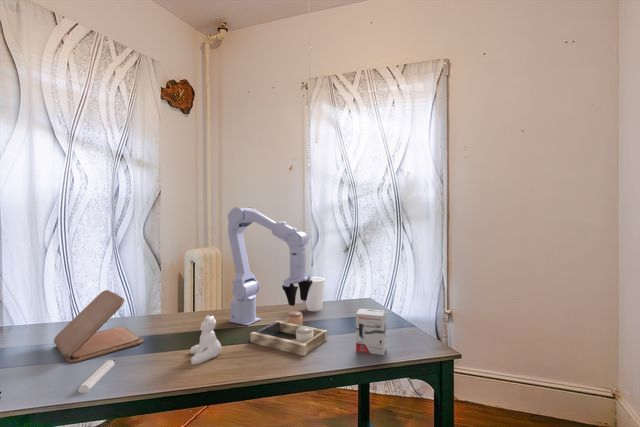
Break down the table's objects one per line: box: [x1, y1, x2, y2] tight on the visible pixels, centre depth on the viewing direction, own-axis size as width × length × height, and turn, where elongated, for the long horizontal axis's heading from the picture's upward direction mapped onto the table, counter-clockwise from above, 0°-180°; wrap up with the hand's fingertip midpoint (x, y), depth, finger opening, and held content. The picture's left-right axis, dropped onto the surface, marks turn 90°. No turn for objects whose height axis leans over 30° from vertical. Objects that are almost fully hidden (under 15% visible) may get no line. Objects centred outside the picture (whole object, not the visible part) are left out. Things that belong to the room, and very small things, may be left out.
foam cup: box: [305, 276, 326, 312], centre depth 143 cm, size 10×9×13 cm
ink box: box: [355, 308, 387, 356], centre depth 100 cm, size 8×5×12 cm, turn 72°
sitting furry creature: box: [189, 314, 222, 366], centre depth 98 cm, size 10×9×12 cm
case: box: [53, 289, 144, 364], centre depth 107 cm, size 20×21×16 cm
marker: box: [77, 359, 115, 394], centre depth 86 cm, size 3×2×16 cm
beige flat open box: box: [250, 320, 329, 356], centre depth 108 cm, size 21×14×3 cm
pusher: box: [256, 320, 281, 336], centre depth 113 cm, size 4×10×4 cm, turn 150°
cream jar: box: [295, 325, 313, 343], centre depth 105 cm, size 6×6×5 cm
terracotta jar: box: [286, 310, 304, 326], centre depth 122 cm, size 6×6×5 cm
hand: (297, 302), depth 119 cm, fingers open, 7 cm apart
